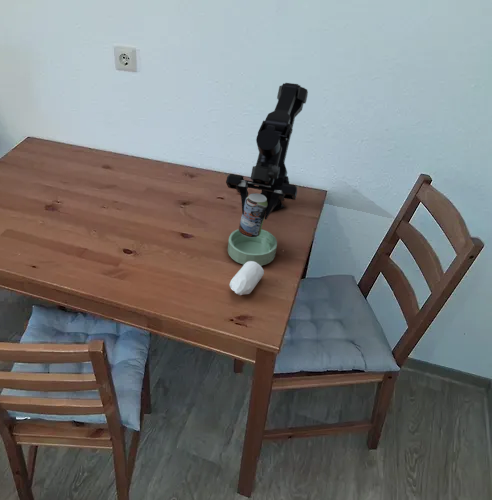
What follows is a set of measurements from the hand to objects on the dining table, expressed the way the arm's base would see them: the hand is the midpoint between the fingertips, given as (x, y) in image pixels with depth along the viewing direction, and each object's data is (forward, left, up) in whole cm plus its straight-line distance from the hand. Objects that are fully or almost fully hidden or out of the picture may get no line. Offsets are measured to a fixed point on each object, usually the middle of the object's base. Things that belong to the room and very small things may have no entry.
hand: (254, 216), depth 146 cm
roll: (+9, +12, -13) cm, 20 cm away
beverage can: (-1, -1, -7) cm, 7 cm away
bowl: (-1, -1, -13) cm, 13 cm away
